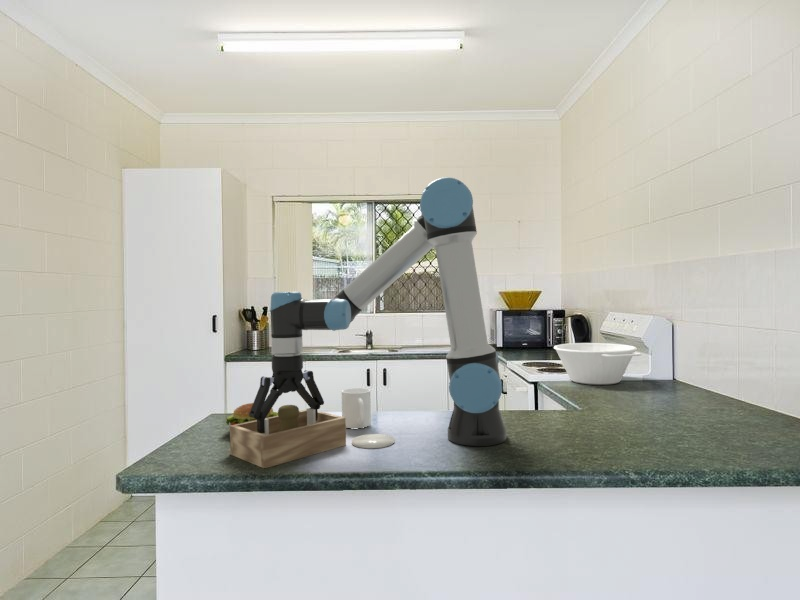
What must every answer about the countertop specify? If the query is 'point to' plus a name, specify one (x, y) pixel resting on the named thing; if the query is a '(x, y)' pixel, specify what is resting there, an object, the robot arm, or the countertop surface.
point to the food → (245, 415)
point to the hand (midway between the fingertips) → (289, 440)
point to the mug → (356, 407)
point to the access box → (287, 439)
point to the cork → (288, 417)
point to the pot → (595, 361)
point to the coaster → (373, 441)
